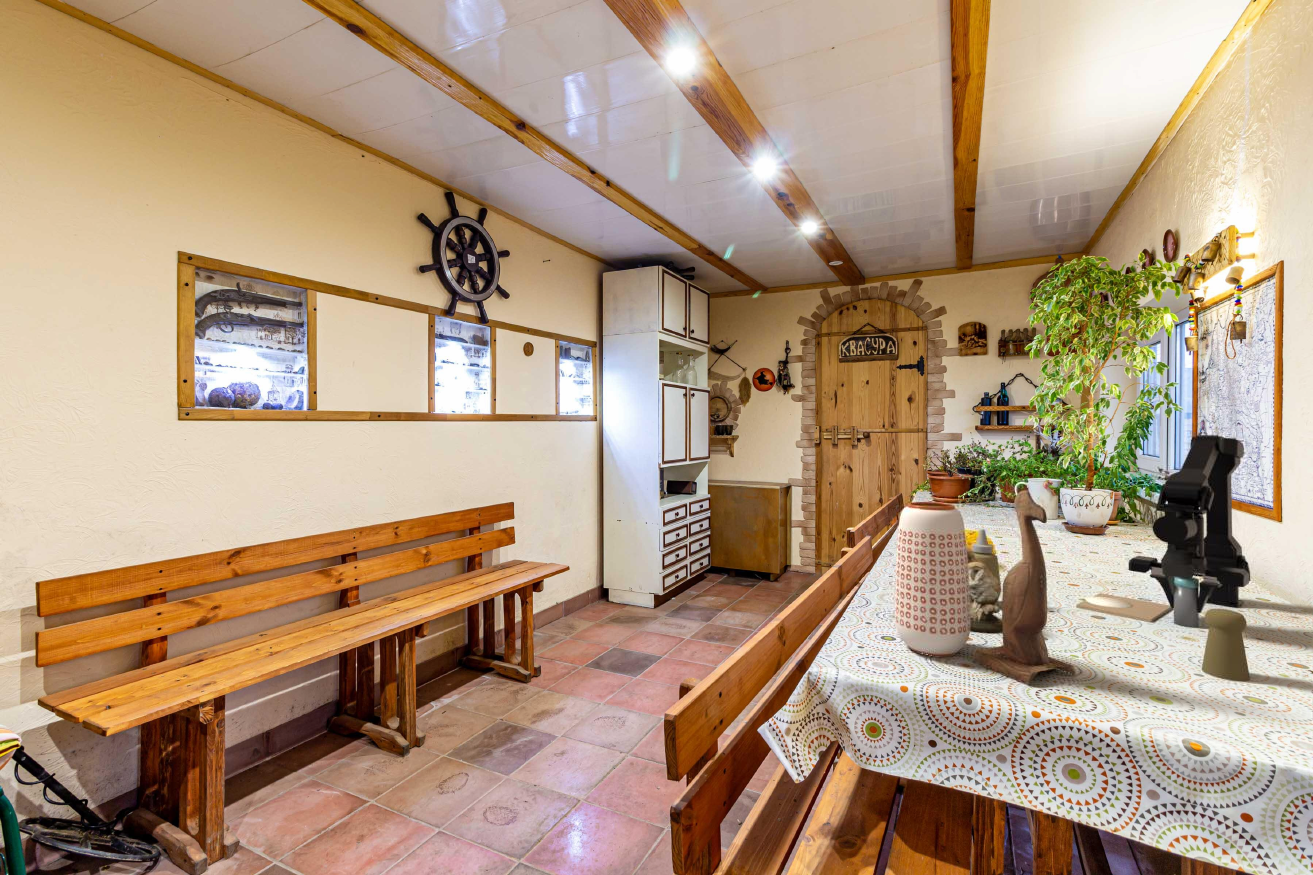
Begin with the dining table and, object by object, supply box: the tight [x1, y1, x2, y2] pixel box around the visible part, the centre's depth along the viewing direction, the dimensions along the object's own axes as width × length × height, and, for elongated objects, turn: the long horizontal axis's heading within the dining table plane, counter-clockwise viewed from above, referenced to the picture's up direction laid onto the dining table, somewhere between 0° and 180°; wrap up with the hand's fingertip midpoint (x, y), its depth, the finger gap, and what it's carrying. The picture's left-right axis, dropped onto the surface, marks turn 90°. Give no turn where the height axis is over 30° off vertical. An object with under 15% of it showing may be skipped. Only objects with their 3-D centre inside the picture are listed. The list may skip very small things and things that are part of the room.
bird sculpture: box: [972, 489, 1077, 686], centre depth 104 cm, size 11×12×32 cm
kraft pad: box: [1075, 592, 1173, 623], centre depth 140 cm, size 16×14×1 cm
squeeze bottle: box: [971, 529, 1002, 606], centre depth 144 cm, size 8×8×18 cm
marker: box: [1173, 576, 1200, 628], centre depth 127 cm, size 4×4×10 cm
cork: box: [1201, 608, 1251, 682], centre depth 102 cm, size 6×6×11 cm
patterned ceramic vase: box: [894, 501, 971, 658], centre depth 115 cm, size 13×13×28 cm
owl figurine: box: [967, 546, 1003, 634], centre depth 132 cm, size 18×12×17 cm, turn 36°
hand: (1186, 610), depth 127 cm, fingers closed on marker, 4 cm apart
